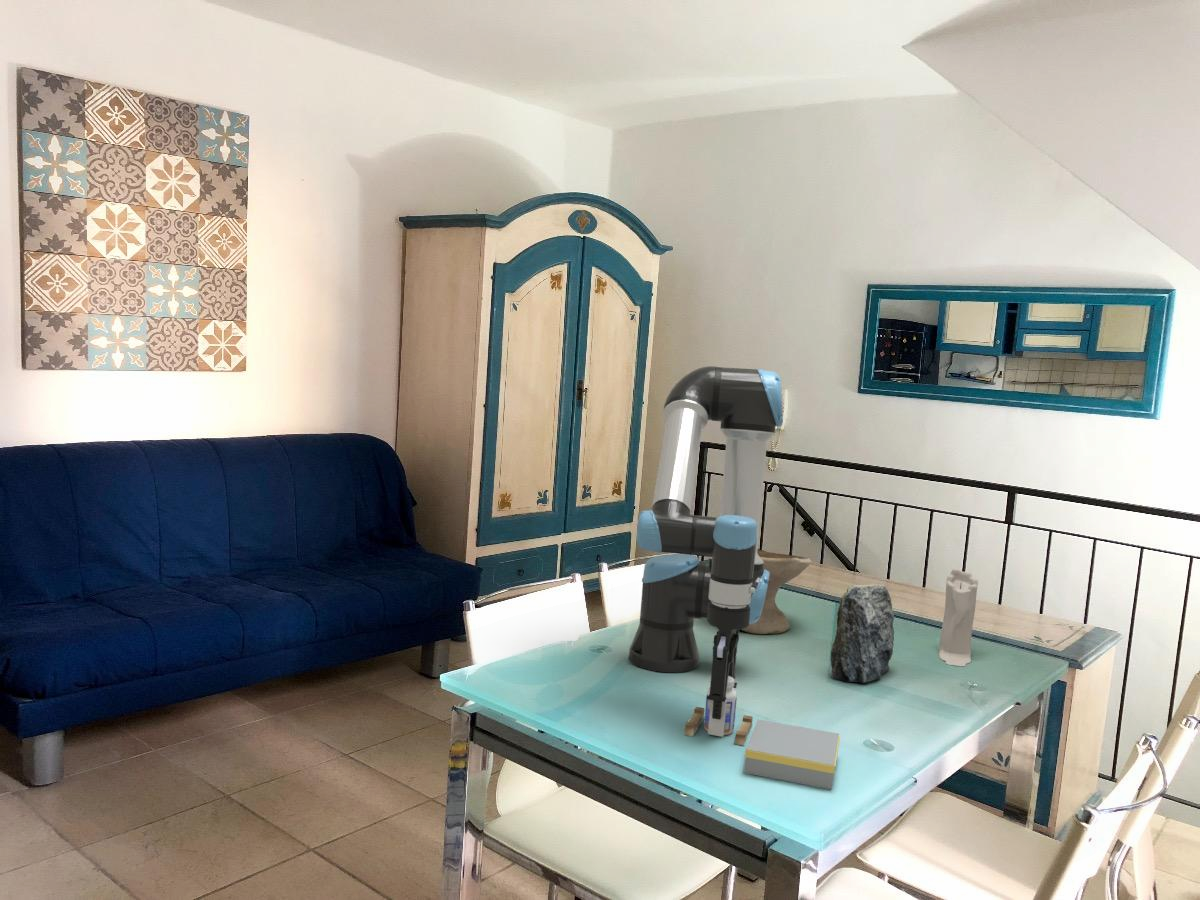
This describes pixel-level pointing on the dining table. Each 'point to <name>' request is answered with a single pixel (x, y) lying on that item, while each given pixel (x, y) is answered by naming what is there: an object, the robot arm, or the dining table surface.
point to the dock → (792, 754)
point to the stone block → (863, 634)
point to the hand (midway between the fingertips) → (718, 728)
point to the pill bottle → (730, 708)
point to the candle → (958, 618)
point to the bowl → (780, 573)
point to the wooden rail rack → (698, 716)
